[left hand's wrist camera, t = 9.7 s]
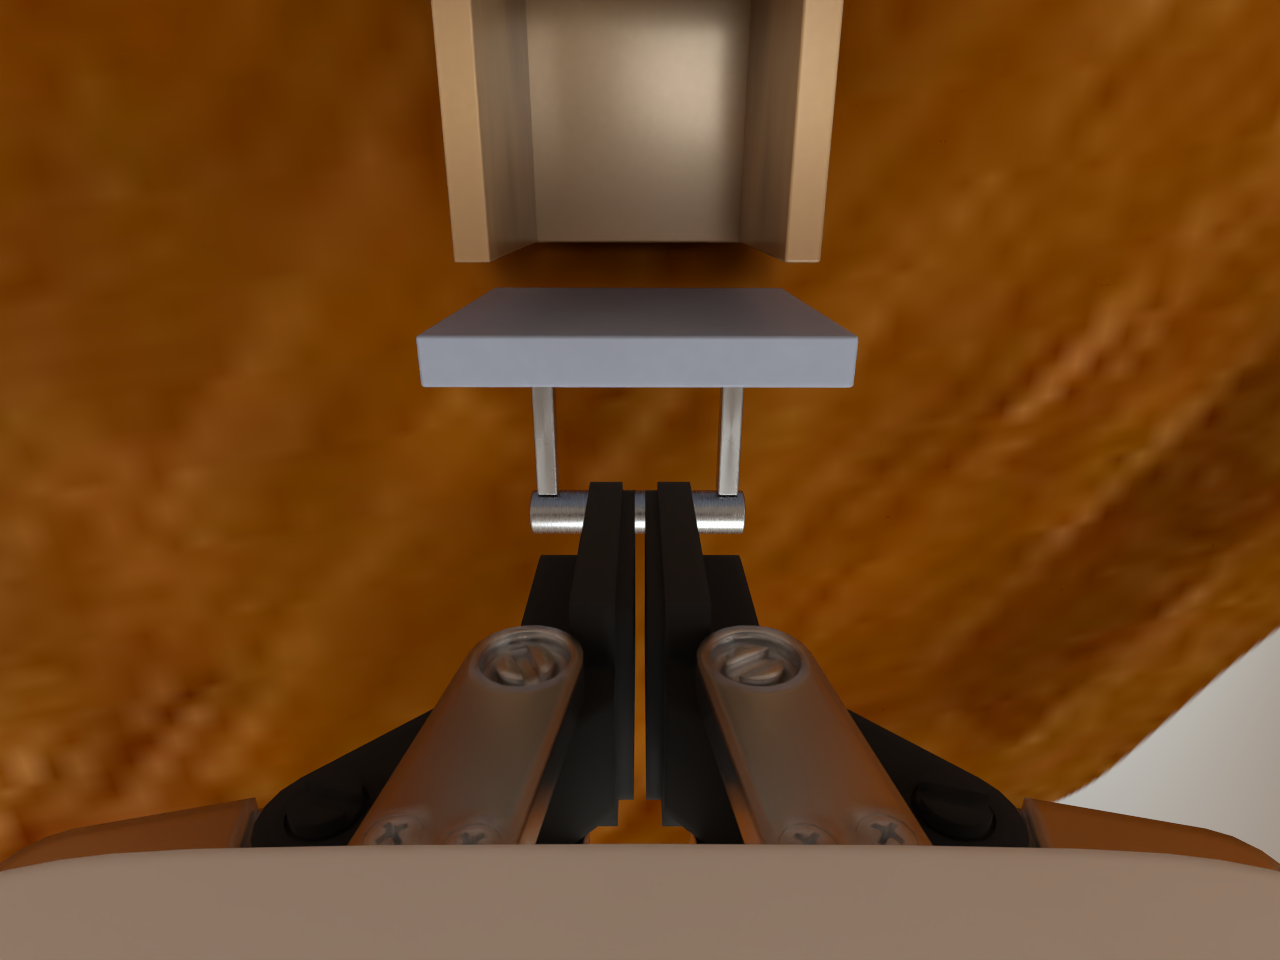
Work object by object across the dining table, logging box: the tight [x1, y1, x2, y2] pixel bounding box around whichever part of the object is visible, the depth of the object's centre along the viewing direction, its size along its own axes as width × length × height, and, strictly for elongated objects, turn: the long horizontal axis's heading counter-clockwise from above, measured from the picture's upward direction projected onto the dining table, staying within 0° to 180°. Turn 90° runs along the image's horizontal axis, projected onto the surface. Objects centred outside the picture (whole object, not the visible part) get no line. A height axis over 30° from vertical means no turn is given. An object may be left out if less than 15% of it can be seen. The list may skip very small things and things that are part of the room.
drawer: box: [416, 0, 858, 534], centre depth 18 cm, size 24×10×9 cm, turn 0°
